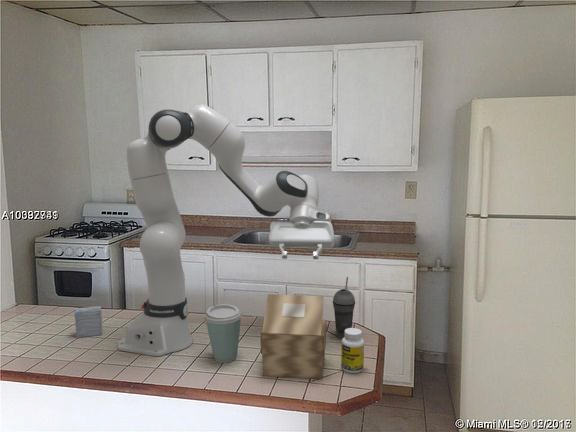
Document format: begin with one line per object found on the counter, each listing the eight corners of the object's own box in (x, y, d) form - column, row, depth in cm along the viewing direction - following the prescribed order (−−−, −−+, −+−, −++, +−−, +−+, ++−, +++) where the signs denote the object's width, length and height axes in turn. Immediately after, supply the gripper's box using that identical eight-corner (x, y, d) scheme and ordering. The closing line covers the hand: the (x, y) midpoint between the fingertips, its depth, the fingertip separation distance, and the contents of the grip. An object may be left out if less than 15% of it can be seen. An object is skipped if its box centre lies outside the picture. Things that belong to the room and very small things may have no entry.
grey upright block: (103, 330, 163) (101, 305, 162) (102, 335, 159) (100, 309, 158) (77, 333, 161) (75, 308, 159) (76, 338, 157) (74, 312, 155)
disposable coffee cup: (250, 358, 141) (249, 309, 139) (219, 370, 134) (217, 318, 132) (229, 347, 149) (228, 300, 146) (199, 357, 142) (197, 308, 139)
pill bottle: (338, 371, 133) (339, 333, 131) (344, 362, 138) (344, 325, 137) (361, 375, 130) (361, 336, 129) (365, 365, 136) (366, 328, 134)
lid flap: (262, 333, 129) (262, 332, 128) (268, 295, 136) (267, 293, 136) (321, 336, 126) (320, 335, 126) (323, 297, 134) (323, 296, 134)
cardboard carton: (260, 375, 131) (259, 333, 129) (268, 356, 143) (267, 317, 141) (323, 379, 129) (323, 336, 127) (326, 359, 140) (326, 319, 138)
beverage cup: (340, 330, 161) (340, 271, 158) (359, 335, 157) (360, 275, 154) (327, 337, 156) (328, 276, 153) (347, 342, 151) (347, 281, 148)
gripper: (269, 214, 152) (264, 252, 144) (334, 214, 149) (333, 253, 141) (272, 225, 157) (267, 262, 149) (335, 226, 154) (334, 264, 146)
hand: (299, 258), depth 145 cm, fingers open, 8 cm apart
